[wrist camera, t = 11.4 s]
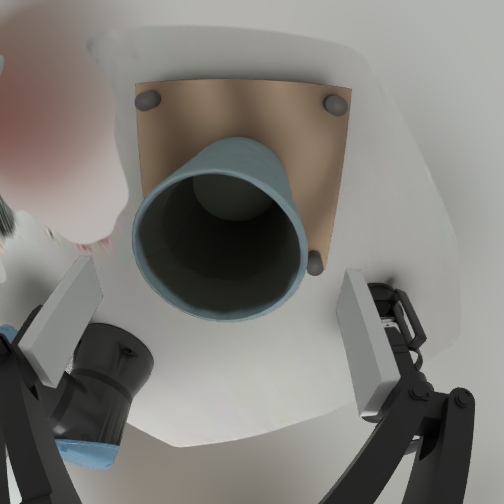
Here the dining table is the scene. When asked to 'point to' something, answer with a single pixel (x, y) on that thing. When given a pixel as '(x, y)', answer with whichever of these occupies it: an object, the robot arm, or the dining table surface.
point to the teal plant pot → (223, 234)
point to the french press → (397, 320)
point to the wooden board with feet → (253, 137)
